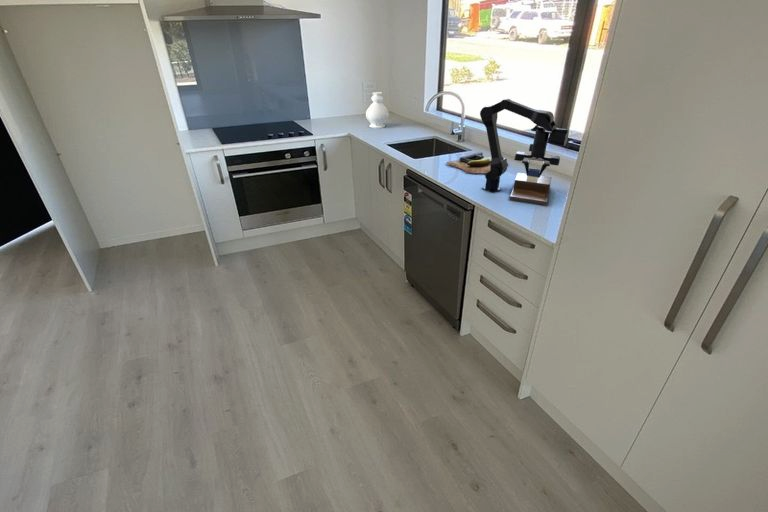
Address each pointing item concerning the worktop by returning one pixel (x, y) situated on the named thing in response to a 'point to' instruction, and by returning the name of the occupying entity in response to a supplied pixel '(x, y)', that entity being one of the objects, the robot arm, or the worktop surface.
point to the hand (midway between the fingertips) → (533, 176)
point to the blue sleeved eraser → (533, 175)
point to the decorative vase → (377, 111)
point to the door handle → (472, 157)
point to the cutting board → (473, 165)
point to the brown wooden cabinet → (531, 190)
